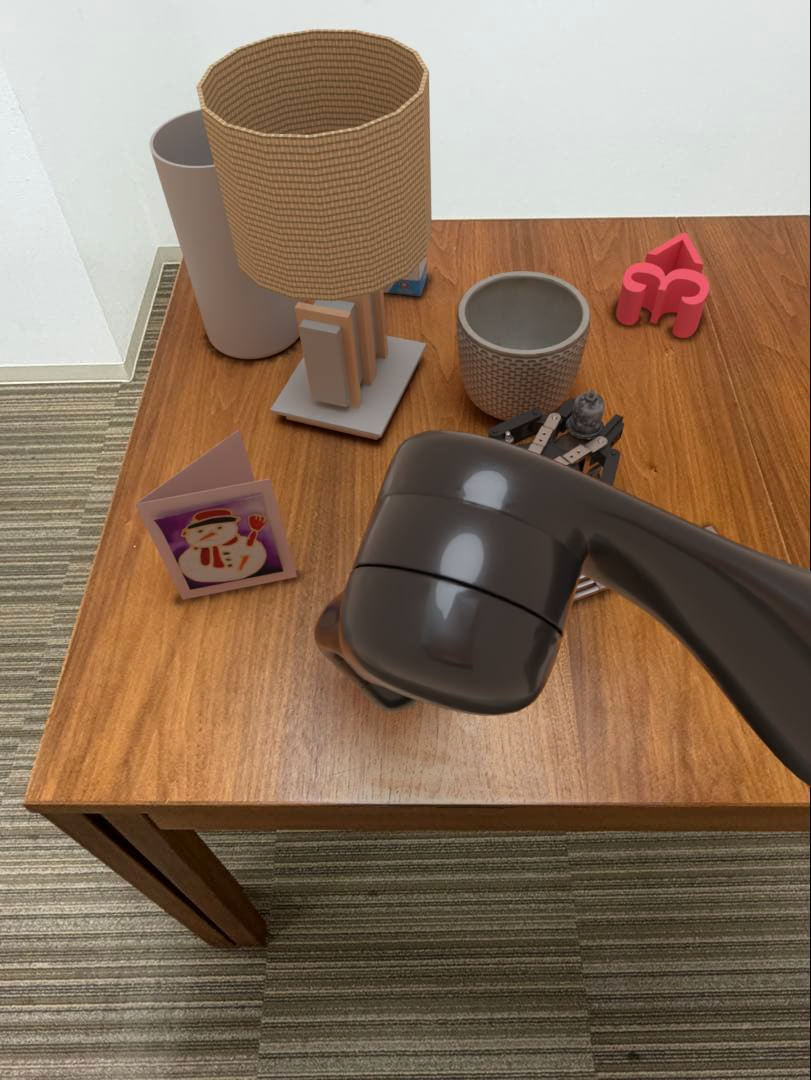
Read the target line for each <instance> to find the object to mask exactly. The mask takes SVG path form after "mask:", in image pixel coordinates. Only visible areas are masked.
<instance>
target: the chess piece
mask: <svg viewBox="0 0 811 1080" xmlns="http://www.w3.org/2000/svg"><path fill="white" fill-rule="evenodd" d="M575 399H576V400H575V402H574V407H573V412H572V416H571V417H570V418H569V419H568V420H567V423H566V428H567V430H566V431H567V432H566V433H562V434H561V435H558V437H557V439H556V440H555V442H554V443H555V444H556V445H557V446H559V447H560V448H562V449H565V450H569V451H571V450H572V449H574V448H575V447H577V446H578V445H580V444H583V445H585V444H587V443H588V442H590V441H591V440H593V439H594V438H596V437H597V434H598V433H599V432H600V430H601V429H602V428H603V427H604V426H605V425H604V422H603V416H604V412H605V407H606V404H605V400H604V398H603V397H602V396H601V395H600V394H598V393H596V392H595V390H593V389H590V390H588V392H583V393H581V394H579V395H577V397H575ZM601 471H603V467H602V466H601V465H600V464H597V465H596V466H594V467H593V468H591V469H590V470H589V471H588V473H587V474H588V475H590V476H592V477H595V478H597V479H599V480H600V479H601Z"/></svg>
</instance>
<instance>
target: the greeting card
mask: <svg viewBox="0 0 811 1080" xmlns="http://www.w3.org/2000/svg"><path fill="white" fill-rule="evenodd" d="M275 494H276V493H275V491H274V487H273V484H272V480H271V478H266V479H261V480H255V476H254V474H253V470H252V467H251V463H250V460H249V456H248V454H247V449H246V446H245V443H244V440H243V436H242V434H241V430H240V428H238V429H237V430H236V431H234V432H233V433H231V434H230V435H229V436H227V437H226V438H224V439H223V440H222V441H220V442H219V443H217V445H215V446H213V447H212V448H211V449H209V450H208V451H207V452H205V453H203V455H201V456H199V457H198V458H197V459H196V460H194V461H193V462H191V463H189V464H188V465H187V466H185V467H184V468H183V469H181V470H180V471H178V472H177V473H176V474H174V475H173V476H172V477H170V478H169V479H167V480H166V481H164V482H163V483H161V484H159V486H158V487H156V488H155V489H154V490H152V491H151V492H149V493H148V494H146V495H145V496H144V497H142V498H141V499H140V500H138V501H137V502H135V503H134V506H135V508H136V510H137V512H138V514H139V516H140V519H141V520H142V522H143V524H144V526H145V528H146V530H147V532H148V534H149V536H150V538H151V540H152V542H153V544H154V545H155V548H156V550H157V552H158V554H159V556H160V558H161V560H162V561H163V564H164V565H165V568H166V570H167V571H168V574H169V576H170V577H171V579H172V582H173V583H174V585H175V587H176V589H177V592H178V594H179V595H180V598H181V599H182V600H189V599H193V598H198V597H204V596H208V595H214V594H218V593H224V592H229V591H233V590H238V589H244V588H247V587H248V588H249V587H253V586H258V585H265V584H268V583H273V582H279V581H283V580H288V579H293V578H294V579H295V578H297V577H298V575H297V572H296V568H295V564H294V560H293V557H292V553H291V550H290V545H289V542H288V539H287V535H286V532H285V528H284V524H283V520H282V517H281V512H280V509H279V506H278V502H277V498H276V495H275Z"/></svg>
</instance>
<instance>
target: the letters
mask: <svg viewBox="0 0 811 1080" xmlns="http://www.w3.org/2000/svg"><path fill="white" fill-rule="evenodd" d="M703 268H704V263H703V261H702V259H701V257H700V255H699V253H698V251H697V249H696V247H695V246H694V243H693V242H692V239H691V237H690V236H689V234H688V233H687V232H681V233H679V234H678V235H676V236H674V237H673V238H671V239H669V240H667V241H666V242H664V243H662V244H661V245H659V246H657V247H655V248H654V249H652V250H649V252H647V253H646V256H645V260H644V262H643V261H642V262H637V263H634V264H632V265H630V266H629V267H628V268H627V269H626V271H625V273H624V275H623V278H622V283H621V288H620V292H619V297H618V303H617V307H616V313H615V317H616V319H617V321H618V322H619V323H621V324H622V325H624V326H633V325H636V324H637V322H638V321H639V319H640V315H641V311H642V308H643V309H646V310H647V311H649V312H650V313H651V316H650V321H649V323H650V324H655V325H657V324H658V322H659V319H660V318H661V316H663V315H665V314H667V313H674V314H676V316H675V320H674V324H673V327H672V332H671V333H672V335H673V336H675V337H676V338H679V339H686V338H689V337H691V336H693V335H694V334H695V332H696V331H697V329H698V327H699V324H700V320H701V317H702V314H703V311H704V308H705V305H706V301H707V298H708V294H709V293H710V292H709V291H710V282H709V279H708V278H707V277H706V276H705V275H704V274H703V273H702V272H703Z"/></svg>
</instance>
